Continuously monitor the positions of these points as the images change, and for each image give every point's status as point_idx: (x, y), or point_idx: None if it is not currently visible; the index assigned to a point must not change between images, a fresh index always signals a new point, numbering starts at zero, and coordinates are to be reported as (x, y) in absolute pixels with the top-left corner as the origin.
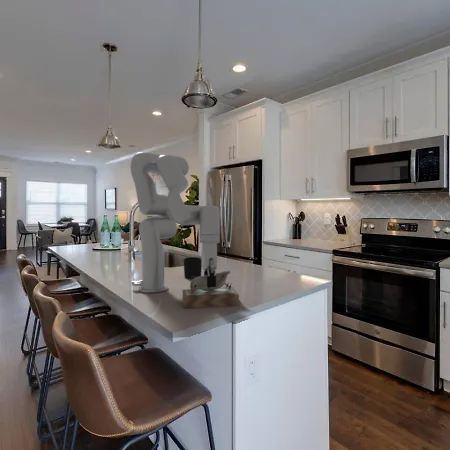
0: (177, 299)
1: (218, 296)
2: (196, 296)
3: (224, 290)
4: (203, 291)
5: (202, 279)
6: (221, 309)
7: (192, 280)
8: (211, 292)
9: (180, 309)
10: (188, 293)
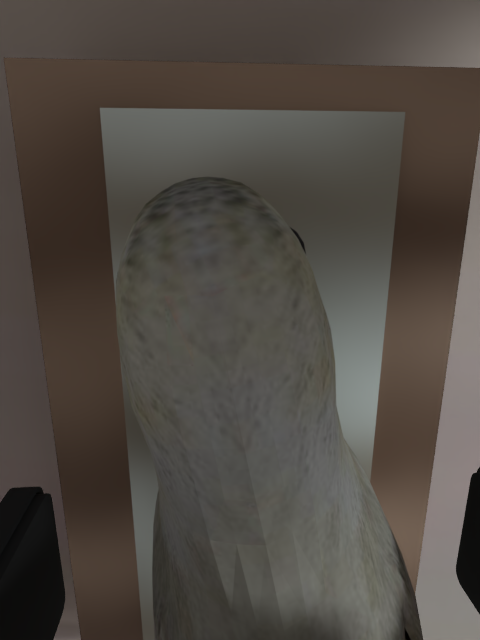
0: (447, 35)
1: (70, 524)
2: (40, 264)
3: None
4: None
5: (161, 484)
6: (8, 470)
7: (190, 234)
8: None
9: (29, 51)
10: (197, 151)
